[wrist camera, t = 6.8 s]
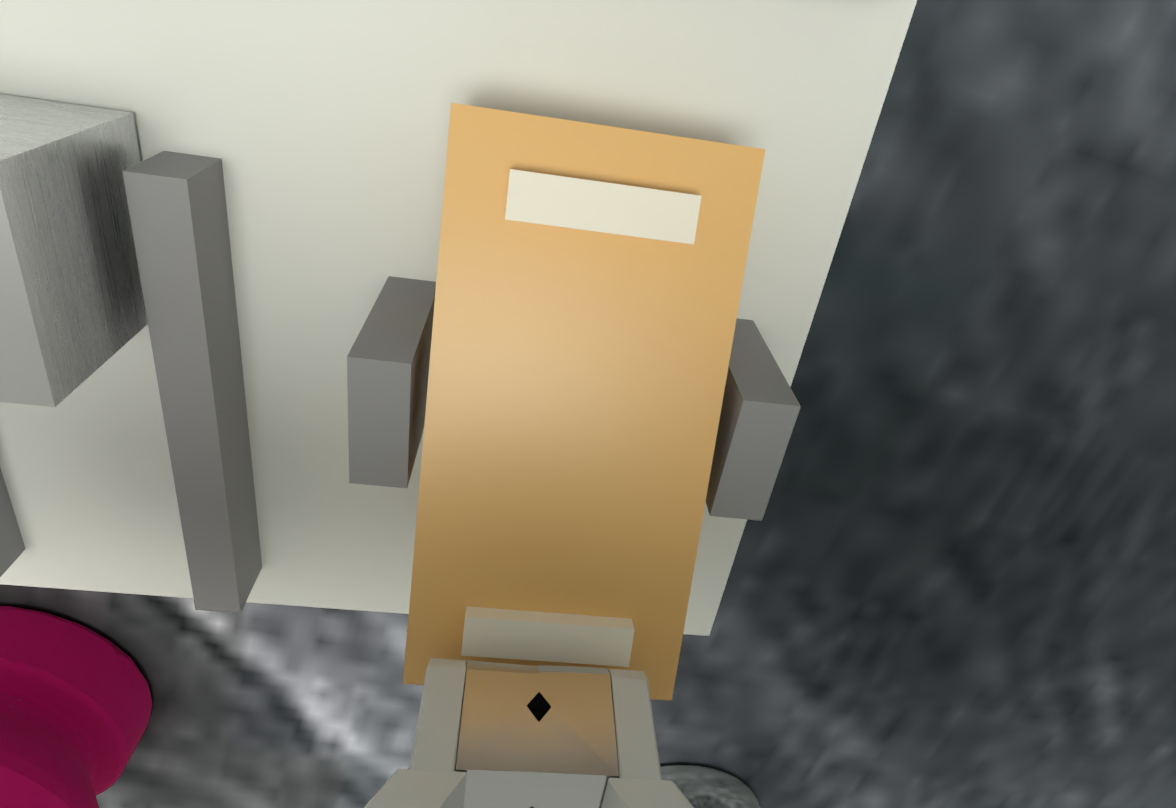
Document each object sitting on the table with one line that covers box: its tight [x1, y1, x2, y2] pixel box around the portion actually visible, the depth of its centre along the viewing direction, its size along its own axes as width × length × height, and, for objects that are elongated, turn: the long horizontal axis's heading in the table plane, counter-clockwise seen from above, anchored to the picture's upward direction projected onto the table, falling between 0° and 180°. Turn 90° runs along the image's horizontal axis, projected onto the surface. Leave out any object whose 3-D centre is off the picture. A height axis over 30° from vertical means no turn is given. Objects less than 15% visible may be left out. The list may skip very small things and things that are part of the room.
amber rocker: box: [403, 103, 765, 701], centre depth 11 cm, size 4×8×2 cm, turn 171°
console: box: [0, 0, 917, 636], centre depth 11 cm, size 16×20×6 cm
